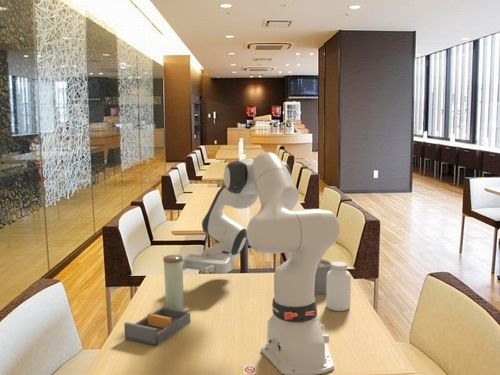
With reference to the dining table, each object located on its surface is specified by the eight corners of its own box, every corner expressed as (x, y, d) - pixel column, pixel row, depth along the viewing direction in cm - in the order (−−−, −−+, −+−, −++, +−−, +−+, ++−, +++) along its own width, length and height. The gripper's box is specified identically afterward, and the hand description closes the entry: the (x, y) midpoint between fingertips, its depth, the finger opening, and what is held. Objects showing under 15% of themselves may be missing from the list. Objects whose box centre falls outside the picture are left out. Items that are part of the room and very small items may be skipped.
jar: (185, 311, 171) (182, 259, 168) (166, 313, 170) (163, 260, 167) (184, 304, 177) (181, 254, 174) (165, 306, 176) (163, 255, 173)
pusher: (150, 323, 159) (149, 313, 159) (171, 327, 156) (171, 317, 155) (147, 324, 158) (147, 314, 158) (169, 329, 155) (168, 319, 154)
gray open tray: (161, 316, 167) (161, 301, 166) (190, 322, 162) (189, 307, 161) (125, 339, 151) (124, 323, 150) (155, 346, 146) (154, 330, 146)
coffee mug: (303, 294, 184) (303, 267, 183) (303, 284, 194) (303, 258, 192) (341, 294, 183) (342, 267, 182) (339, 284, 193) (339, 259, 191)
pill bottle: (355, 307, 171) (356, 264, 169) (337, 313, 167) (338, 269, 164) (338, 300, 178) (338, 258, 175) (321, 306, 173) (321, 263, 171)
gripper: (188, 248, 198) (167, 257, 185) (236, 253, 189) (217, 264, 176) (189, 263, 199) (168, 274, 186) (236, 270, 190) (217, 282, 177)
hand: (192, 269), depth 181 cm, fingers open, 8 cm apart
